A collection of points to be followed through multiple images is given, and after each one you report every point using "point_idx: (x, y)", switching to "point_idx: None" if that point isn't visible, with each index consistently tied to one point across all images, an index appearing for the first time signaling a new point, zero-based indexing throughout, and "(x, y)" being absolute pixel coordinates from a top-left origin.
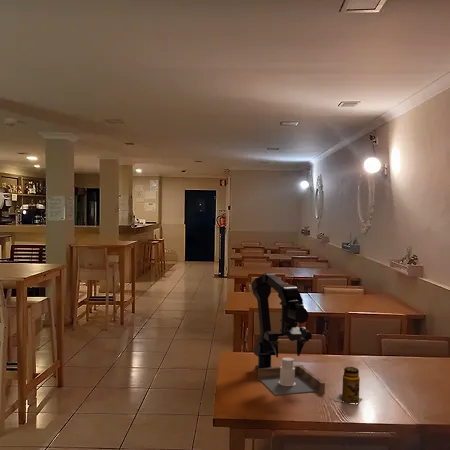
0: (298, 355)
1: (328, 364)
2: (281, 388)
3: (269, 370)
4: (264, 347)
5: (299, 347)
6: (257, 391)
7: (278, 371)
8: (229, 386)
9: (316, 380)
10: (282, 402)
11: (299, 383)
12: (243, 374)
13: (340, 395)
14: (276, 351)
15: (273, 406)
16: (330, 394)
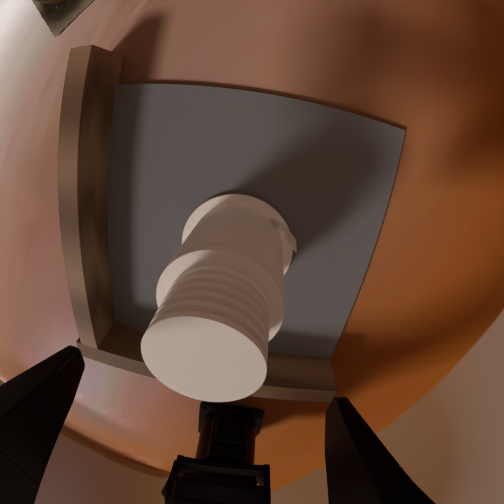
0: (75, 350)
1: (7, 344)
2: (317, 193)
3: (276, 379)
4: (252, 501)
5: (21, 415)
6: (440, 227)
7: None
8: (474, 318)
9: (83, 115)
10: (413, 40)
11: (160, 222)
12: None
13: (64, 22)
14: (384, 451)
15: (466, 39)
16: (90, 41)
